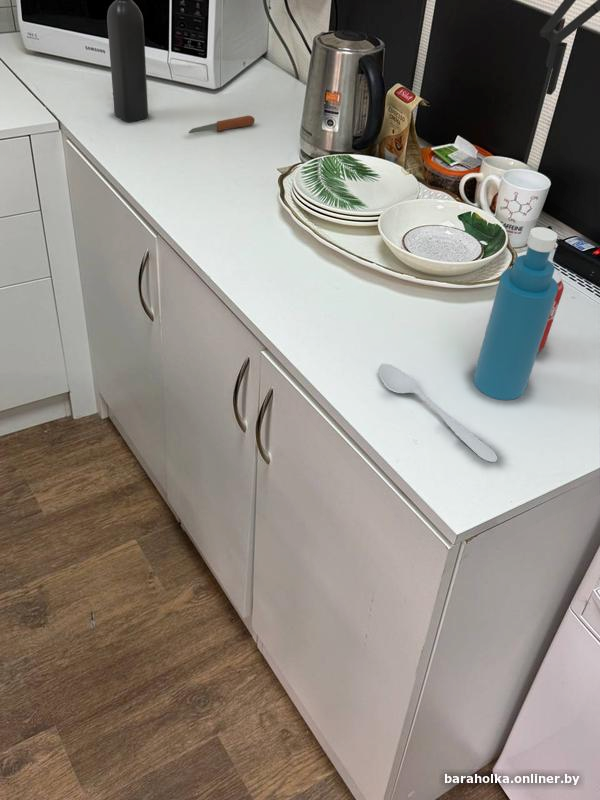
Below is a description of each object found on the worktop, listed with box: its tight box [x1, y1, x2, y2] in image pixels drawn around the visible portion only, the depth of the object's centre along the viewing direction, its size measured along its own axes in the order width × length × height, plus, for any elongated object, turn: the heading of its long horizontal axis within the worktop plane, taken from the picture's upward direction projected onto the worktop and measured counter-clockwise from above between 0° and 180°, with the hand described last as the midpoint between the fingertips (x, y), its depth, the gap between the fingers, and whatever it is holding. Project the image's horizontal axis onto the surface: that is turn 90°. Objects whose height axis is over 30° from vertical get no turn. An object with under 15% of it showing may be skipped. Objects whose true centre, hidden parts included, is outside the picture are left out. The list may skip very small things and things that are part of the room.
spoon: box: [378, 363, 498, 463], centre depth 102 cm, size 4×21×2 cm, turn 38°
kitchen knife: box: [188, 115, 256, 134], centre depth 167 cm, size 16×1×2 cm, turn 126°
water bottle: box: [472, 226, 558, 401], centre depth 101 cm, size 7×7×23 cm
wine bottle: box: [106, 0, 149, 123], centre depth 160 cm, size 6×6×30 cm
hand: (597, 102), depth 115 cm, fingers open, 13 cm apart
